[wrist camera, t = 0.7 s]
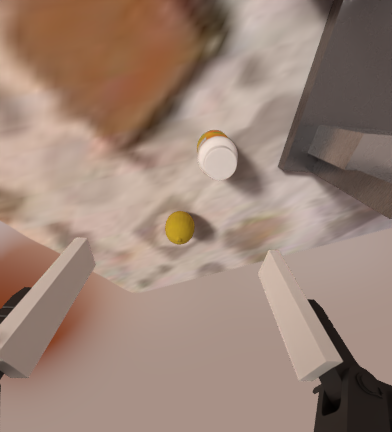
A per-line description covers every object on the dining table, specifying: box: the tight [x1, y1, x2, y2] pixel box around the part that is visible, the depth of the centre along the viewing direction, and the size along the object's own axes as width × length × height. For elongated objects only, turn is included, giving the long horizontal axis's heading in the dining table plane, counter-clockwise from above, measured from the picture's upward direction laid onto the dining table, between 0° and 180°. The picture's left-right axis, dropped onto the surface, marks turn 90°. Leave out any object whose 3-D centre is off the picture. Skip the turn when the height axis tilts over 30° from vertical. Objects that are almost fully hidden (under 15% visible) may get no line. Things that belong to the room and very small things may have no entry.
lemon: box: [165, 211, 195, 244], centre depth 33 cm, size 6×6×8 cm
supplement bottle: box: [197, 130, 238, 180], centre depth 25 cm, size 5×5×10 cm
